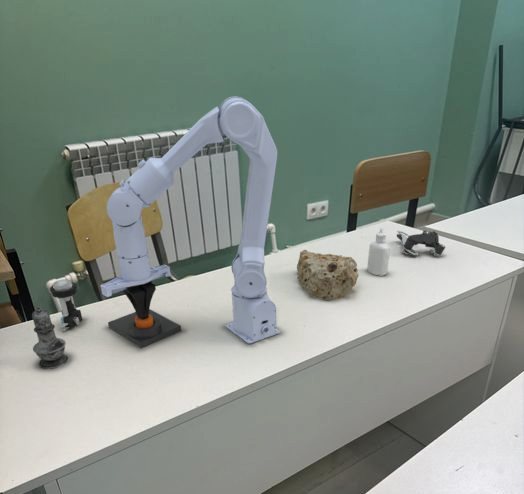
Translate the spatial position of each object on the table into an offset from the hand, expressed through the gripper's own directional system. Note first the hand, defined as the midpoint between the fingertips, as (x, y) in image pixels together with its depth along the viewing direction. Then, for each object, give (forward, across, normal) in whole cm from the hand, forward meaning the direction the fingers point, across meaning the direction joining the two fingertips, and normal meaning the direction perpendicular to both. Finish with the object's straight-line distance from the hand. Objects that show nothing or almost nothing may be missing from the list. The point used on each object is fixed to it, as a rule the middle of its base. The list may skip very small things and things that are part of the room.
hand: (143, 317), depth 98 cm
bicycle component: (+5, -86, +14) cm, 88 cm away
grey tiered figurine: (+5, +18, -5) cm, 19 cm away
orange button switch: (+5, -2, -3) cm, 6 cm away
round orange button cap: (+2, 0, 0) cm, 2 cm away
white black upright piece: (+5, +9, -16) cm, 19 cm away
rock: (+5, -47, +11) cm, 49 cm away
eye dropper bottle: (+5, -63, +16) cm, 65 cm away
